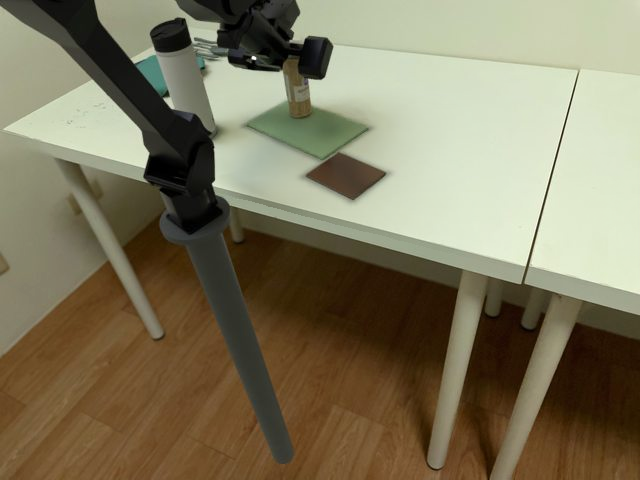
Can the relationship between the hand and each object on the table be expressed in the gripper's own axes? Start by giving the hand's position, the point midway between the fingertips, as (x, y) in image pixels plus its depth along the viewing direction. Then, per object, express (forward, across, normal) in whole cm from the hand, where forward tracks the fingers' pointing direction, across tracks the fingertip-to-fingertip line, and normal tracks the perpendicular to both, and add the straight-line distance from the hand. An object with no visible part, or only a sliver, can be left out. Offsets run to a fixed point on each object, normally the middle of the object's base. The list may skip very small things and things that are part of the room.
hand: (300, 72), depth 86 cm
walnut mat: (-6, -17, +17) cm, 25 cm away
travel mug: (-4, +15, +16) cm, 22 cm away
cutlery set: (+11, +40, 0) cm, 41 cm away
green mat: (+2, -3, +9) cm, 10 cm away
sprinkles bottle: (+4, 0, +6) cm, 8 cm away
